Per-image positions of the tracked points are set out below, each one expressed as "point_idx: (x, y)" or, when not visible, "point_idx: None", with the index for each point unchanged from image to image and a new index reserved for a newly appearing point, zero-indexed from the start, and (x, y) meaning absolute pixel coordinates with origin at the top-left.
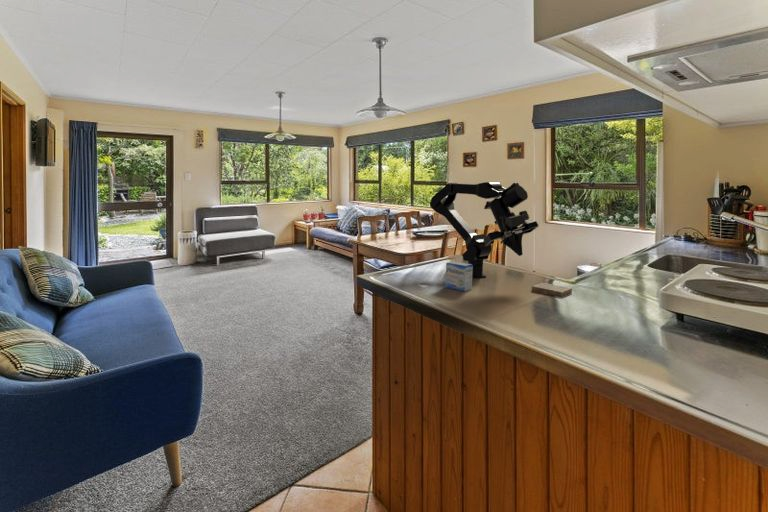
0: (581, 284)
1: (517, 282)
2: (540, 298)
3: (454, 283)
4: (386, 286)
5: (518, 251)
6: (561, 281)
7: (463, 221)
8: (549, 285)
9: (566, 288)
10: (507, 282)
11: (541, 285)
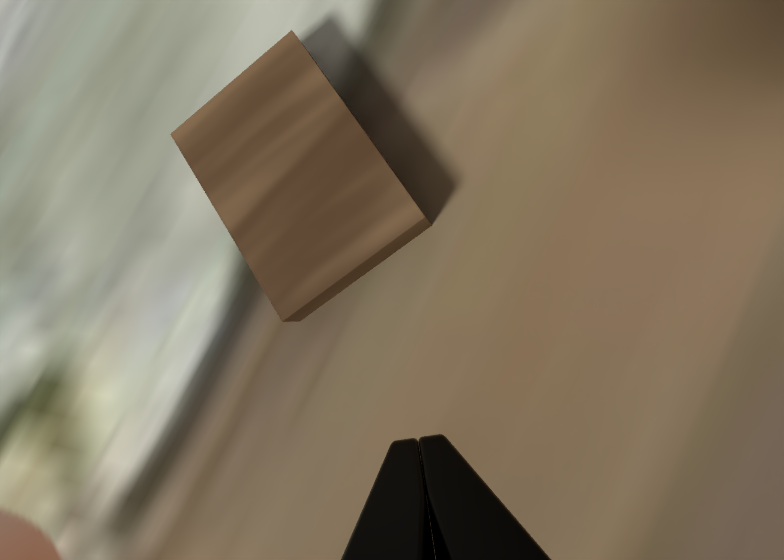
0: (22, 347)
1: None
2: (466, 23)
3: None
4: None
5: (480, 483)
6: (88, 452)
7: None
8: (277, 223)
9: (208, 129)
10: None
11: (337, 228)
